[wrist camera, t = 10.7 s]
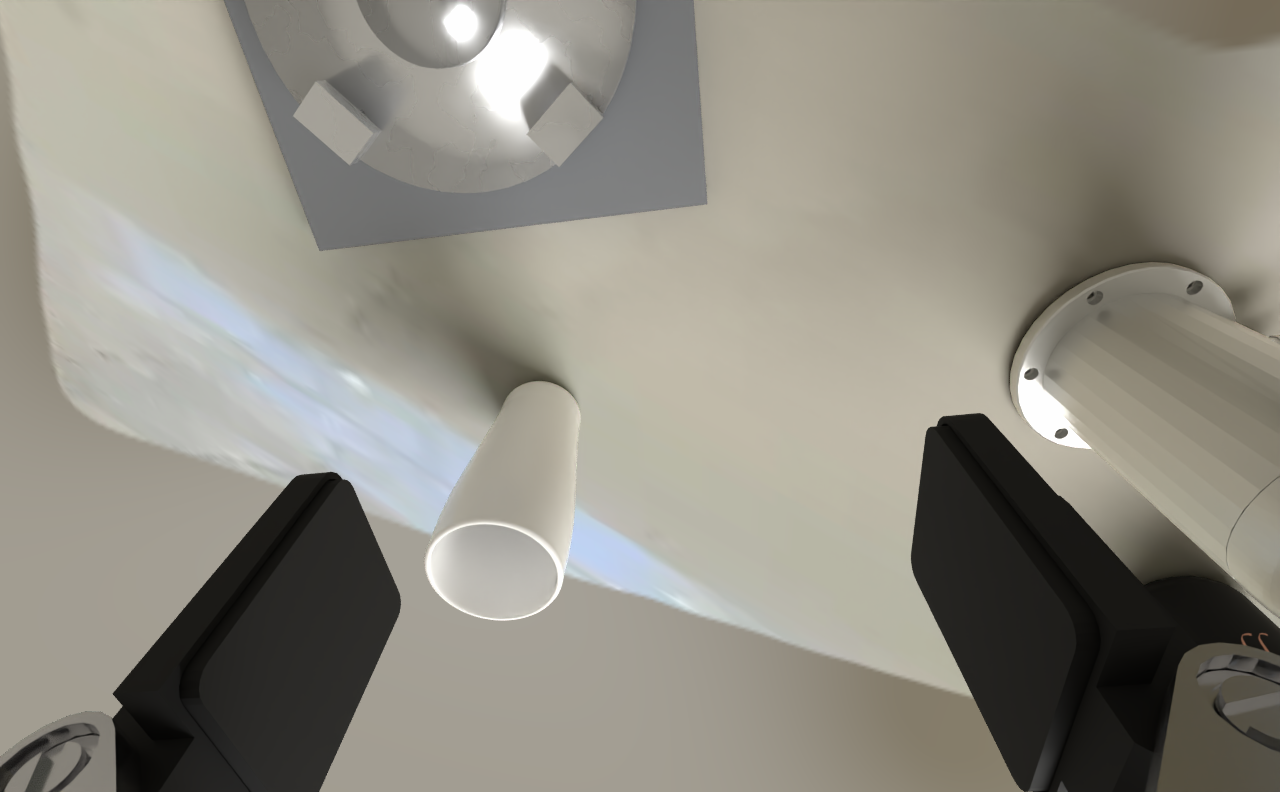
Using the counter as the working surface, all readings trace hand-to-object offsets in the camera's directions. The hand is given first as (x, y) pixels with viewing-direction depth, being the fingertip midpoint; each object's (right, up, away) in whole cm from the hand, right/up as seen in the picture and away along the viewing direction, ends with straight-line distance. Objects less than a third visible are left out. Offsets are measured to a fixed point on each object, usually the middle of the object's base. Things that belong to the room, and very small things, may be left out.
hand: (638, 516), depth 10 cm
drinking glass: (-7, +1, +32) cm, 33 cm away
